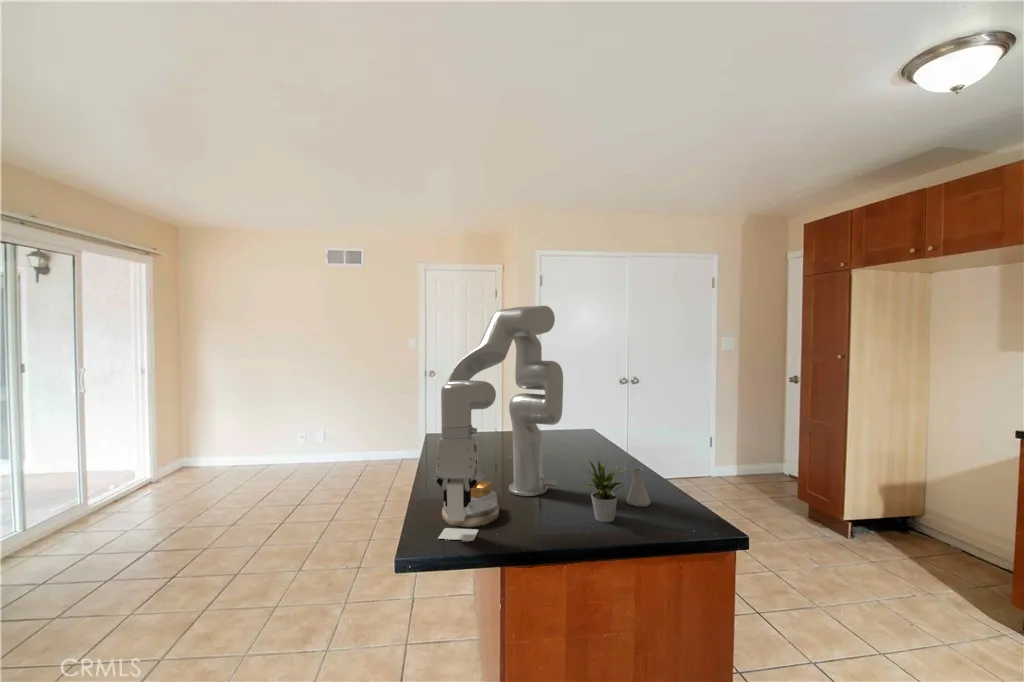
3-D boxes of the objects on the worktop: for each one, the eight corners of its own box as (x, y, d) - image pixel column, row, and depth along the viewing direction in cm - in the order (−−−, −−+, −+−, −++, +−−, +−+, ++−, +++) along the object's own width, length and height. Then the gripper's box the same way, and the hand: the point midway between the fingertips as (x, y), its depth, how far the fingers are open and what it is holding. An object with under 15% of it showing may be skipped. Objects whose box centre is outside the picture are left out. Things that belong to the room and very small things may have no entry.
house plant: (563, 515, 122) (562, 457, 122) (597, 503, 130) (596, 449, 130) (602, 533, 110) (601, 468, 110) (637, 519, 119) (636, 459, 119)
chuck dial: (484, 520, 114) (484, 501, 114) (433, 513, 119) (433, 495, 119) (504, 500, 128) (504, 483, 128) (458, 495, 133) (458, 478, 133)
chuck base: (503, 505, 130) (503, 498, 130) (493, 528, 114) (493, 520, 114) (451, 503, 132) (451, 496, 132) (434, 525, 117) (434, 518, 117)
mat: (478, 531, 113) (478, 529, 113) (473, 541, 107) (473, 540, 107) (444, 529, 114) (444, 528, 114) (437, 539, 108) (437, 538, 108)
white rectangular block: (452, 513, 113) (451, 478, 112) (467, 513, 112) (466, 479, 112) (447, 520, 109) (446, 484, 108) (463, 520, 108) (462, 485, 108)
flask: (652, 500, 132) (651, 467, 132) (649, 508, 126) (649, 474, 126) (627, 497, 135) (627, 465, 135) (624, 505, 129) (623, 471, 129)
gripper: (491, 430, 113) (492, 501, 113) (429, 429, 115) (430, 498, 115) (485, 436, 106) (486, 512, 105) (419, 435, 108) (420, 509, 108)
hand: (457, 504), depth 110 cm, fingers closed on white rectangular block, 4 cm apart
